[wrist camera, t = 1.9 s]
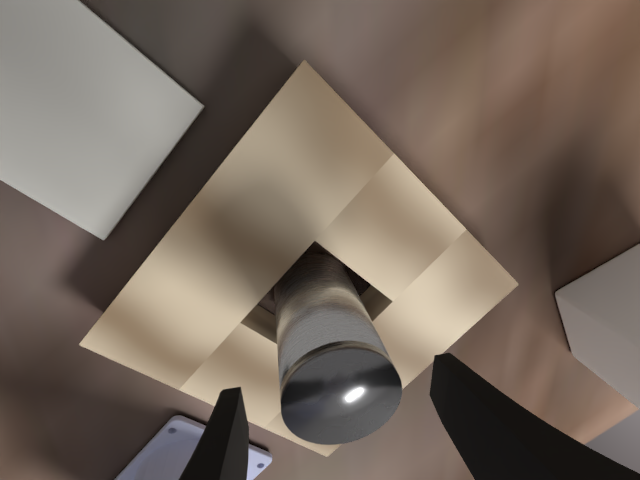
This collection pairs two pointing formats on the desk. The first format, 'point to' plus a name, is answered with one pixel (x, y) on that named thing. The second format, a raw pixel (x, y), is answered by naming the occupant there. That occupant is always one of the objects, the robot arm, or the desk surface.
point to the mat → (82, 112)
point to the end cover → (330, 356)
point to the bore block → (284, 250)
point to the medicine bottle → (607, 321)
